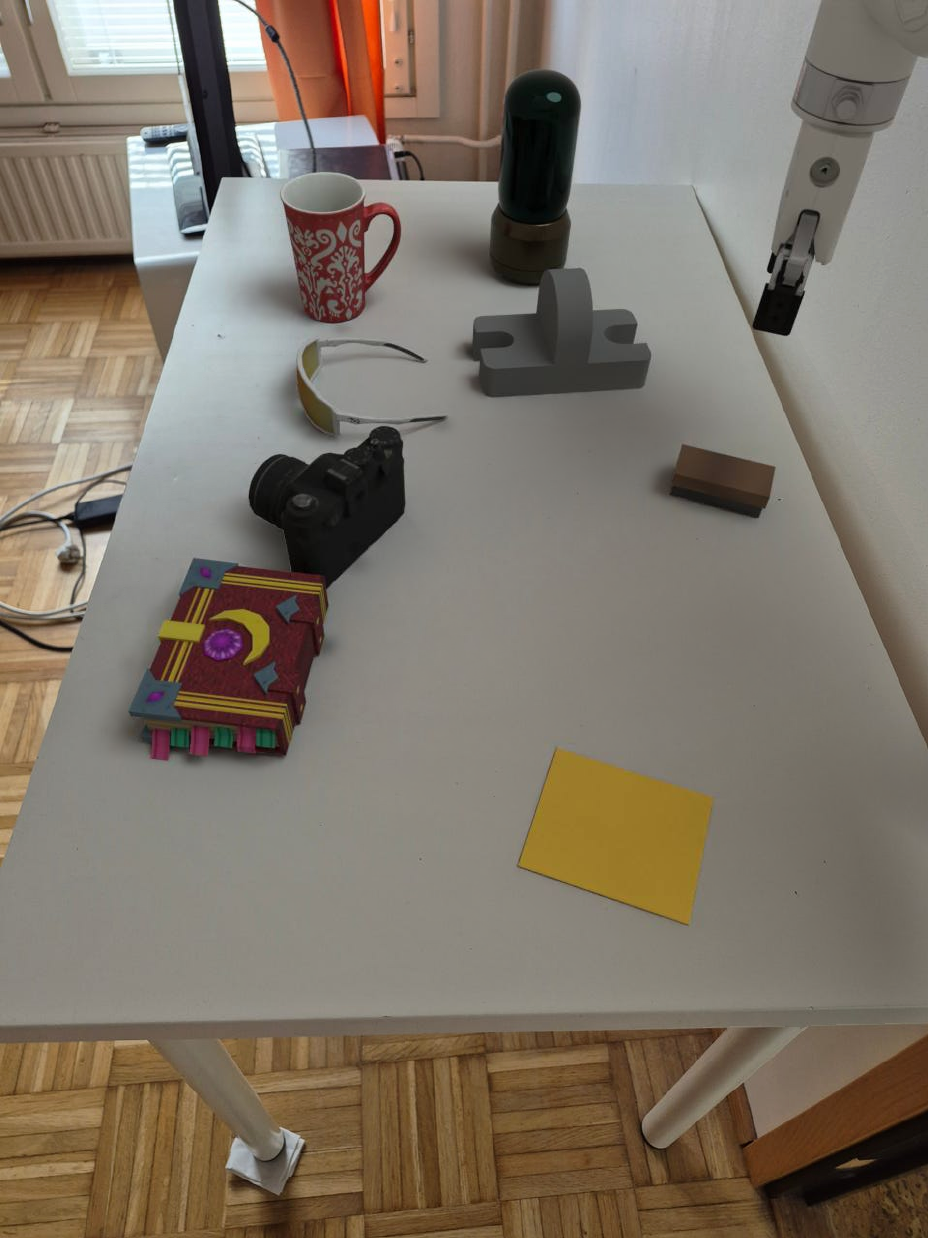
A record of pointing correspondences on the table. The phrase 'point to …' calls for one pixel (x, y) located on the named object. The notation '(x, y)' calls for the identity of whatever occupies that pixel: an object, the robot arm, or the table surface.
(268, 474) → the camera
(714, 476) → the brush
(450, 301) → the table surface
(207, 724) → the decorative book
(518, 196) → the lamp
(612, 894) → the cloth
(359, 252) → the mug
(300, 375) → the sunglasses
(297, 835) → the table surface
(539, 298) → the bracket
